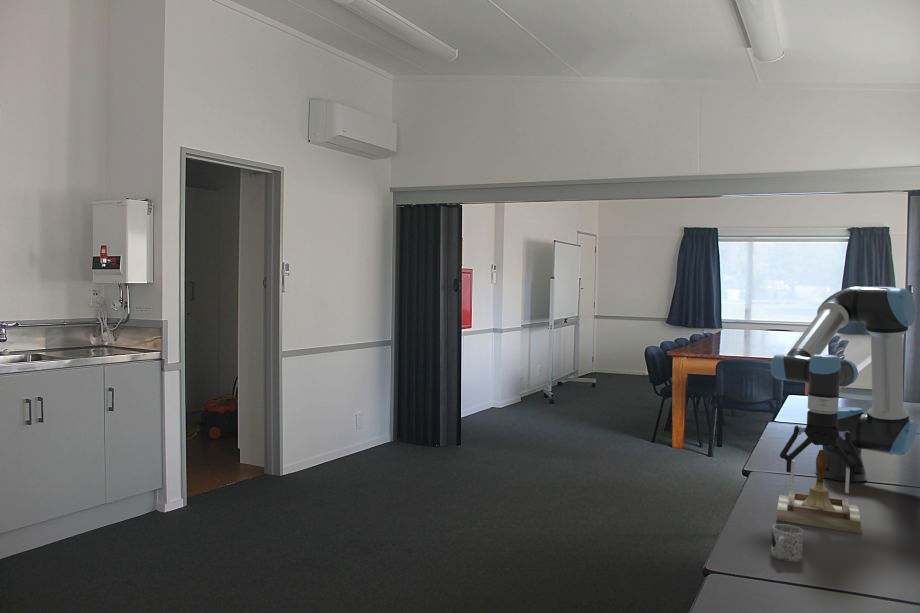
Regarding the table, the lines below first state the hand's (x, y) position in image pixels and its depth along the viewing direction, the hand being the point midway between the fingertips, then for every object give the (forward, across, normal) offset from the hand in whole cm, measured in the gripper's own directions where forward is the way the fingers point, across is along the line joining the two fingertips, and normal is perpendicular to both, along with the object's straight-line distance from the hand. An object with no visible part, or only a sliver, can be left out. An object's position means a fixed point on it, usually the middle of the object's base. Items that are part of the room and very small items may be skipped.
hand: (818, 488), depth 201 cm
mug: (+9, -7, -36) cm, 38 cm away
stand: (+8, 0, 0) cm, 8 cm away
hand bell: (+6, 0, 0) cm, 6 cm away
